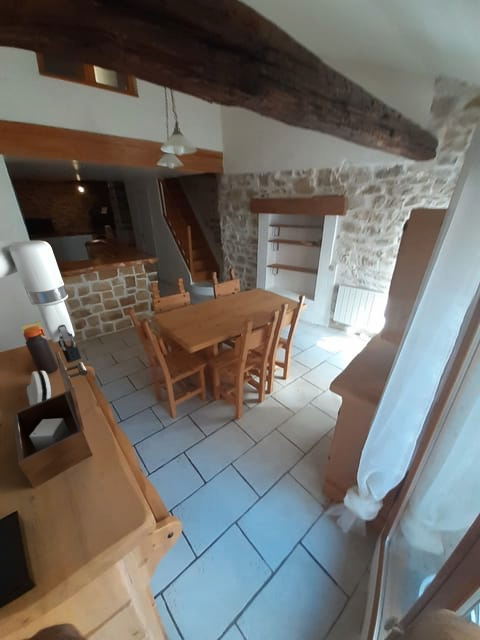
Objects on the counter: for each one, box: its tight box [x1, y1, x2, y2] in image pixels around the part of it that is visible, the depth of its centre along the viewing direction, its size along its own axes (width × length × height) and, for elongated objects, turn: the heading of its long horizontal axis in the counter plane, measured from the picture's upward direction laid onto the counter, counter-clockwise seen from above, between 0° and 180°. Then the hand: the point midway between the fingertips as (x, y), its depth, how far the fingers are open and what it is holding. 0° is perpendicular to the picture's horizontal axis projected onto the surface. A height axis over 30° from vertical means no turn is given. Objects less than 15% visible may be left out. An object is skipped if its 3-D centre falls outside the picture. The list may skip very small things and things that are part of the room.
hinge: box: [26, 371, 52, 406], centre depth 91 cm, size 17×5×10 cm, turn 43°
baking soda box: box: [20, 320, 47, 342], centre depth 112 cm, size 10×6×16 cm
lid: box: [54, 350, 88, 431], centre depth 73 cm, size 15×21×5 cm
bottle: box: [24, 326, 59, 375], centre depth 102 cm, size 7×7×20 cm
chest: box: [12, 391, 93, 489], centre depth 73 cm, size 14×21×10 cm, turn 42°
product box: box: [29, 418, 70, 452], centre depth 73 cm, size 6×6×7 cm
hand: (70, 352), depth 69 cm, fingers open, 9 cm apart
